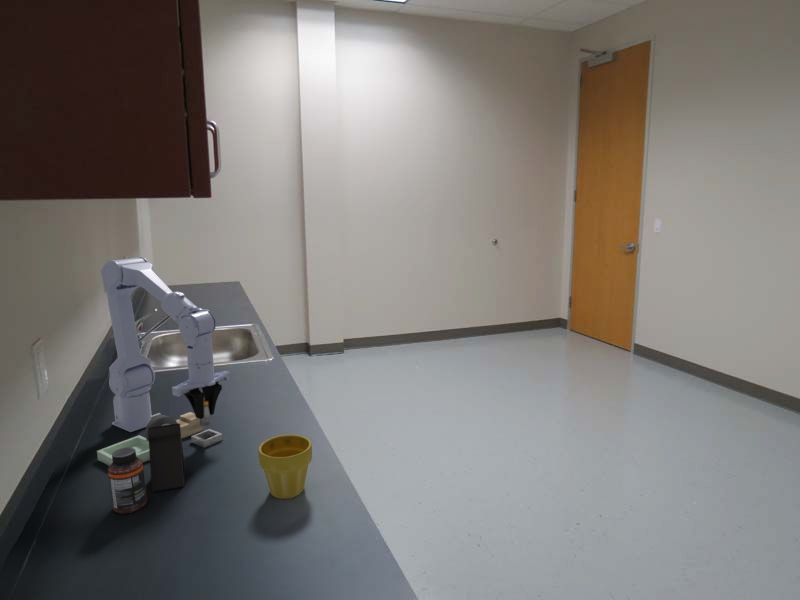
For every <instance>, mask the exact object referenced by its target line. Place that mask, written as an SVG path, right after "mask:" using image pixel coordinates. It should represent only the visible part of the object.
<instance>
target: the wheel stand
mask: <svg viewBox="0 0 800 600" xmlns="http://www.w3.org/2000/svg"><path fill="white" fill-rule="evenodd" d="M176 420H177V419H175V418H173V417H171V416H168V415H165V414H162V413H160V412H158V413H155V414H153V415H152V416H150V421H149V423H148V424H147V426H146V427H145V431H144V436H145V437H144V438H146V439H147V440H148V429H149V428H150V427H157V426H164V425H172V424H177V422H176Z"/></svg>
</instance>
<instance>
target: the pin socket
mask: <svg viewBox="0 0 800 600" xmlns="http://www.w3.org/2000/svg"><path fill="white" fill-rule="evenodd" d="M223 437H224V435H223V433H221V432H219V431H216V430H213V429H211V428H208V429H206V430H202V431H200V432H197V433H195V434H192V435H190V442H191V443H192V444H195V445H197V446H198V447H202V448H207V447H209V446H212V445H215V444H217V443H218V442H221V441H224V438H223Z"/></svg>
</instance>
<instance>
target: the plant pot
mask: <svg viewBox="0 0 800 600" xmlns="http://www.w3.org/2000/svg"><path fill="white" fill-rule="evenodd" d="M312 444H313V443H312V441H311V440H310V438H308V437H306V436H303V435H299V434H282V435H280V434H279V435H276V436H273V437H270V438H268V439H266V440H264V441H263V442H262V443H261V444H260V445H259V447H258V462H259V466H260V468H261V469H262V470H263V472H264V474H265V478H266V481H267V484H268V488H269V492H270V494H271V495H272V497H274V498H277V499H283V500H286V499H292V497H293V498H295V496H296V497H297V495H298V494H299V495H301V492H302V493H303V491H304V489H305V485H306V478H307V473H308V468H309V464H311V462H312V458H313V445H312ZM299 495H298V496H299Z"/></svg>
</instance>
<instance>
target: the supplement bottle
mask: <svg viewBox="0 0 800 600" xmlns="http://www.w3.org/2000/svg"><path fill="white" fill-rule="evenodd" d="M112 460H113V462H112V463H111V464H110V466H108V468H107V473H108V479H109V480H108V482H109V489H110V495H111V496H110V497H111V504H112V508H113V511H114V512H115V513H117V514H130V513H131V514H132V513H134V512H136V511H139V510H140V509H141V508H143V507H145V506H146V505H147V501H148V498H147V495H148V494H147V487H146V480H145V472H144V470H145V469H144V464H143V462H142V460H141V459H140V458H138V457H136V450H135V449H134V448H121V449H118V450H116V451H115V452H113V454H112Z"/></svg>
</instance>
